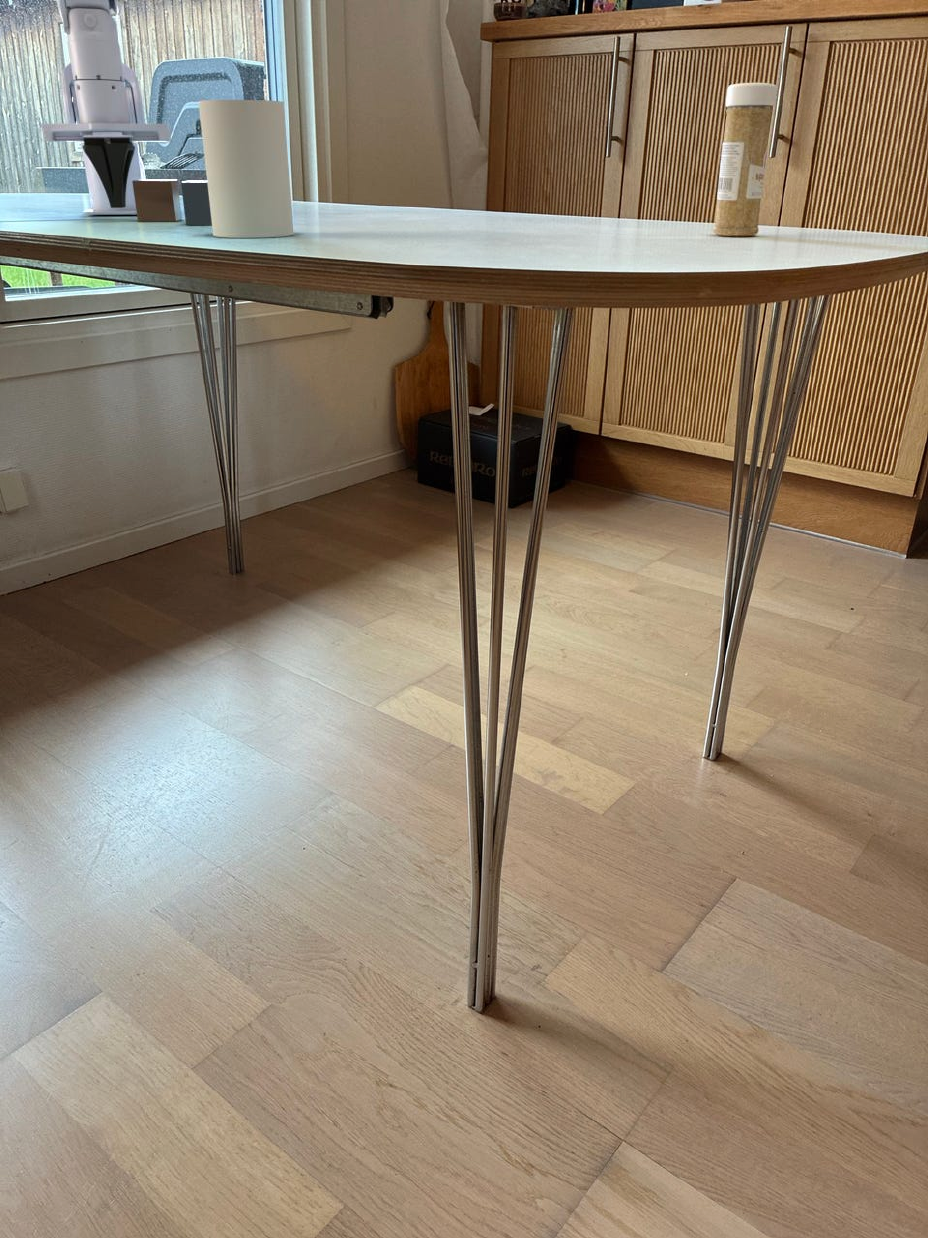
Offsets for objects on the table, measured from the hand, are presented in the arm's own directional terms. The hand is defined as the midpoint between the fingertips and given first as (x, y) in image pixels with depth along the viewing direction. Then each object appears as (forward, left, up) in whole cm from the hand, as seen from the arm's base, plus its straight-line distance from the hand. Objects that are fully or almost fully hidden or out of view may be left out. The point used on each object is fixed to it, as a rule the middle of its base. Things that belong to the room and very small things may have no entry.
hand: (118, 207), depth 117 cm
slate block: (+7, +12, -2) cm, 14 cm away
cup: (+25, +19, -2) cm, 31 cm away
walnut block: (0, +5, -2) cm, 5 cm away
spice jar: (+31, +68, -2) cm, 75 cm away
